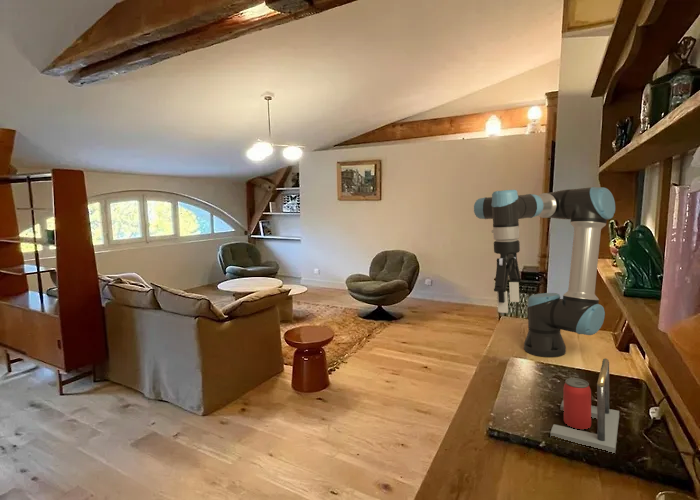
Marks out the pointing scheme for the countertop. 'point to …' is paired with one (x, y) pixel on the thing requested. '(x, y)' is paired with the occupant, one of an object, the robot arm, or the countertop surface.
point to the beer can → (577, 403)
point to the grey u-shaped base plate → (588, 437)
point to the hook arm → (602, 399)
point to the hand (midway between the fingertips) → (509, 306)
